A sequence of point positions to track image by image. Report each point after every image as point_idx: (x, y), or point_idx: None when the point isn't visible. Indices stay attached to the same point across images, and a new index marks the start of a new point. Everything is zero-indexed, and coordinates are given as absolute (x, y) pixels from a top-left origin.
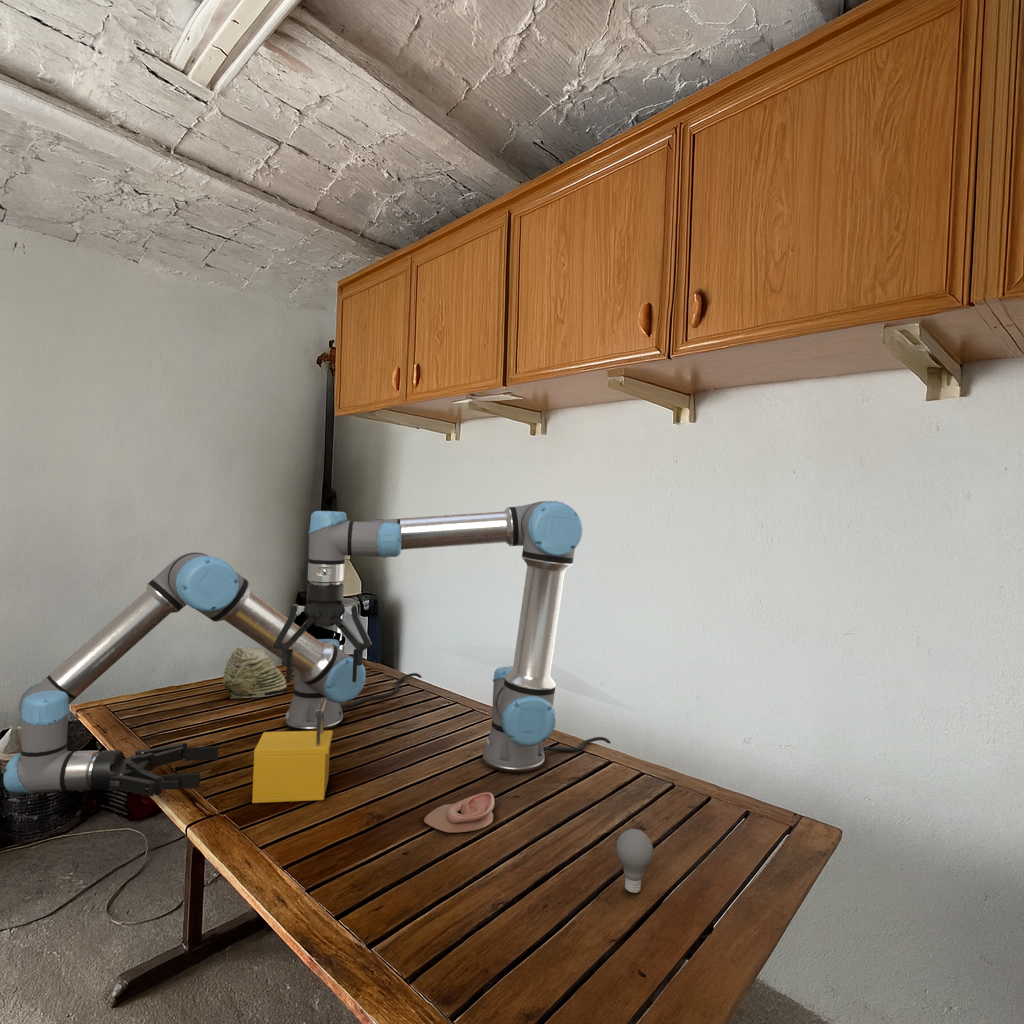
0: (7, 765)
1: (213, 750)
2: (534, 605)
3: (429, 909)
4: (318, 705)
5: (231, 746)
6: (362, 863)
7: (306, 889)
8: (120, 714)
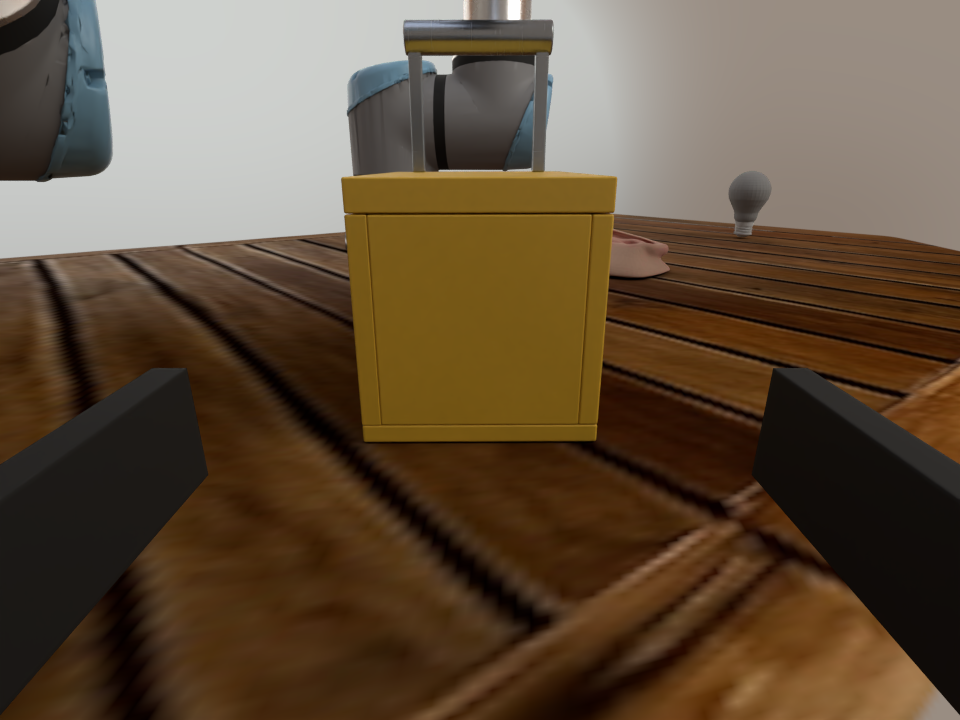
0: None
1: (172, 408)
2: None
3: (896, 281)
4: (488, 21)
5: None
6: (826, 308)
7: None
8: None
